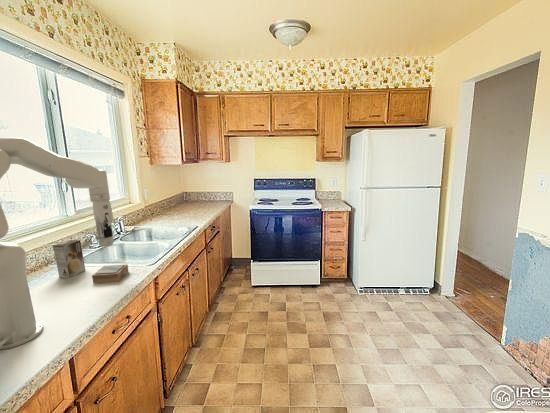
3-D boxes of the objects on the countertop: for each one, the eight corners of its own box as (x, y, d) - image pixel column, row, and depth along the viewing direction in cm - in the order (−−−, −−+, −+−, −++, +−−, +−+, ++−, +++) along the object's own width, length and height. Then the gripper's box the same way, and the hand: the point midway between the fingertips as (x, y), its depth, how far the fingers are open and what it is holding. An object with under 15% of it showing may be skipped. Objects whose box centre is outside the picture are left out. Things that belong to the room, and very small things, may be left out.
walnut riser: (118, 282, 127) (117, 273, 126) (93, 283, 126) (91, 274, 125) (128, 271, 138) (127, 263, 137) (105, 273, 136) (103, 265, 136)
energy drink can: (96, 246, 126) (91, 214, 123) (106, 242, 132) (102, 211, 129) (107, 247, 125) (102, 215, 122) (117, 243, 131) (113, 212, 128)
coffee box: (75, 269, 142) (70, 239, 139) (85, 270, 141) (80, 240, 138) (58, 277, 133) (52, 245, 130) (69, 278, 132) (63, 246, 129)
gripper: (117, 197, 122) (122, 237, 125) (101, 194, 132) (106, 231, 136) (98, 200, 116) (104, 241, 119) (83, 196, 127) (89, 234, 130)
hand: (105, 235), depth 128 cm, fingers closed on energy drink can, 6 cm apart
